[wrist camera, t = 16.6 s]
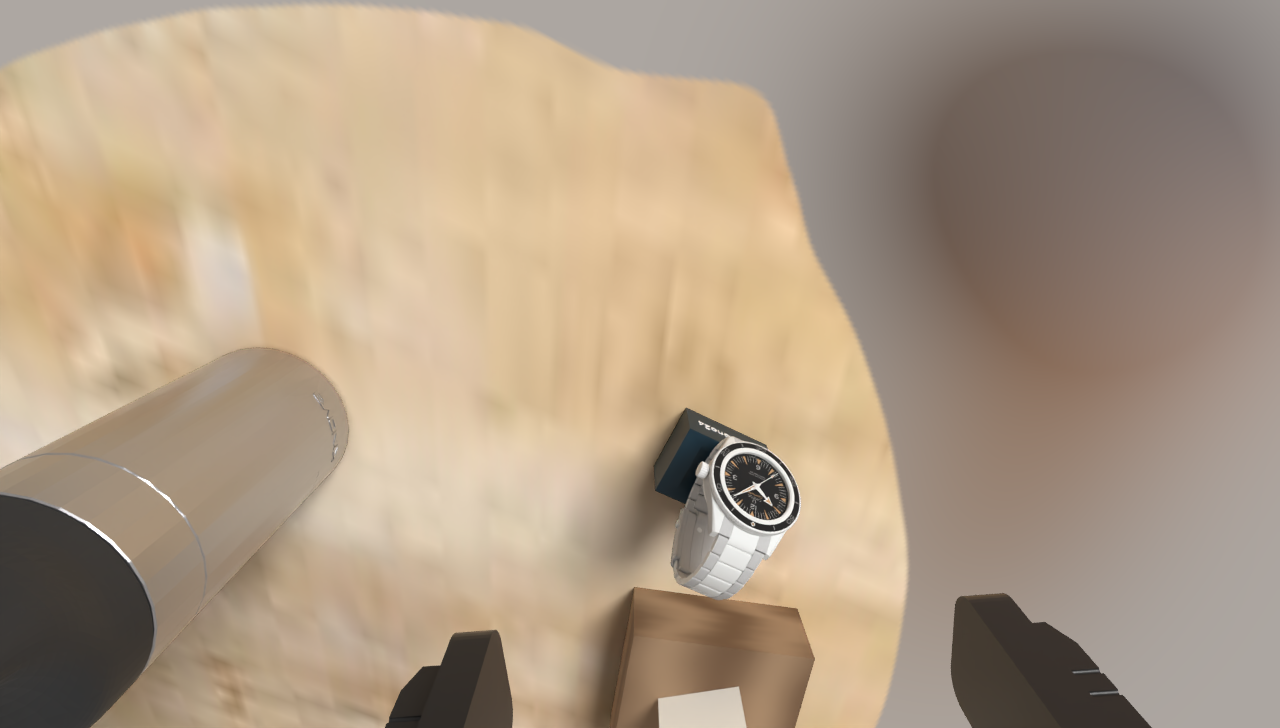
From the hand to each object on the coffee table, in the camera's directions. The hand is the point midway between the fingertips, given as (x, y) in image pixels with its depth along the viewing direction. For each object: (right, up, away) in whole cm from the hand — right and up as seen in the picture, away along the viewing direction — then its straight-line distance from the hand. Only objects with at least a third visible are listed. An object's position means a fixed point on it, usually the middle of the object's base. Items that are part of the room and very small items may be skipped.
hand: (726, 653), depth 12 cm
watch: (+3, 0, +30) cm, 30 cm away
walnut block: (+3, -15, +35) cm, 38 cm away
